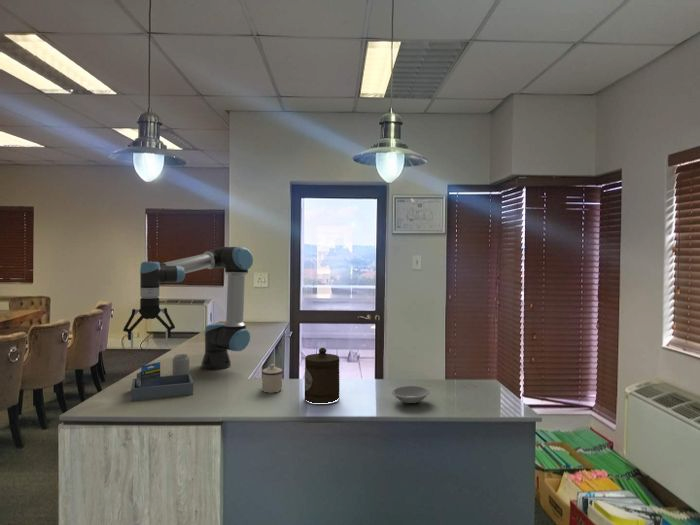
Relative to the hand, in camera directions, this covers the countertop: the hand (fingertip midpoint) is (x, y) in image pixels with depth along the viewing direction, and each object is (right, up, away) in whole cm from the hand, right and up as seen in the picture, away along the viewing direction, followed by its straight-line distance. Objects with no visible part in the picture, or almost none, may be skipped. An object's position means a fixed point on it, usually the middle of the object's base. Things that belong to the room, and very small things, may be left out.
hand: (149, 346), depth 188 cm
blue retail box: (-1, -20, 0) cm, 20 cm away
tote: (+5, -21, +2) cm, 21 cm away
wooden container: (+75, -22, -3) cm, 78 cm away
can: (+5, -21, +21) cm, 30 cm away
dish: (+112, -23, -6) cm, 115 cm away
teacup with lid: (+51, -22, +9) cm, 56 cm away
